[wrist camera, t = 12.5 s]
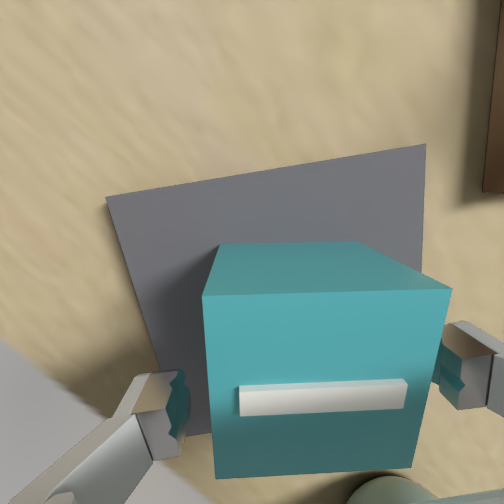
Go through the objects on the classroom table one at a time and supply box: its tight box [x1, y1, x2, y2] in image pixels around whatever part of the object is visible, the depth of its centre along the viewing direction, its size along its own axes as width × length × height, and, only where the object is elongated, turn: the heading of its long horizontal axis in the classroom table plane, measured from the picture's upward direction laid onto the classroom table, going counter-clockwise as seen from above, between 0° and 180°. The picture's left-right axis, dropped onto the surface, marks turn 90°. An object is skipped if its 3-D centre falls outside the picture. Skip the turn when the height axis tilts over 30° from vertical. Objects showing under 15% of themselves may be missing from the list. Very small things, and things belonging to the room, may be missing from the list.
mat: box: [105, 144, 426, 437], centre depth 12 cm, size 13×13×1 cm
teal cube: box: [202, 241, 452, 479], centre depth 9 cm, size 6×6×5 cm
